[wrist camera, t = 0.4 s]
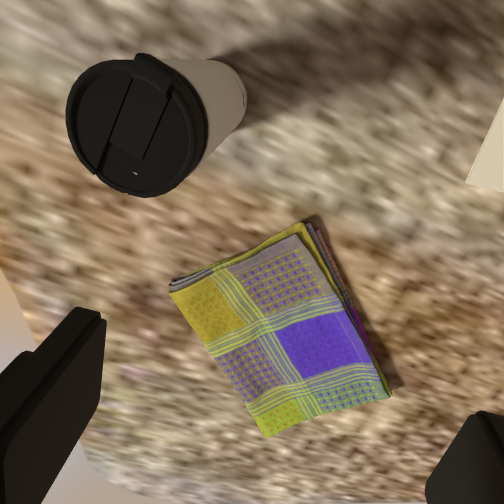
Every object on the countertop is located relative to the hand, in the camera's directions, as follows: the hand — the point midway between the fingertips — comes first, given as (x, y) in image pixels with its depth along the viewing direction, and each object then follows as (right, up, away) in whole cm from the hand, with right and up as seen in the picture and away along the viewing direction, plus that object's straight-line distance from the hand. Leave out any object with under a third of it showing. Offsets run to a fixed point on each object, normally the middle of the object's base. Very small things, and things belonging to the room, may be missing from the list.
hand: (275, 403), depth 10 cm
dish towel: (+3, -5, +36) cm, 37 cm away
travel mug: (-4, +17, +26) cm, 31 cm away
